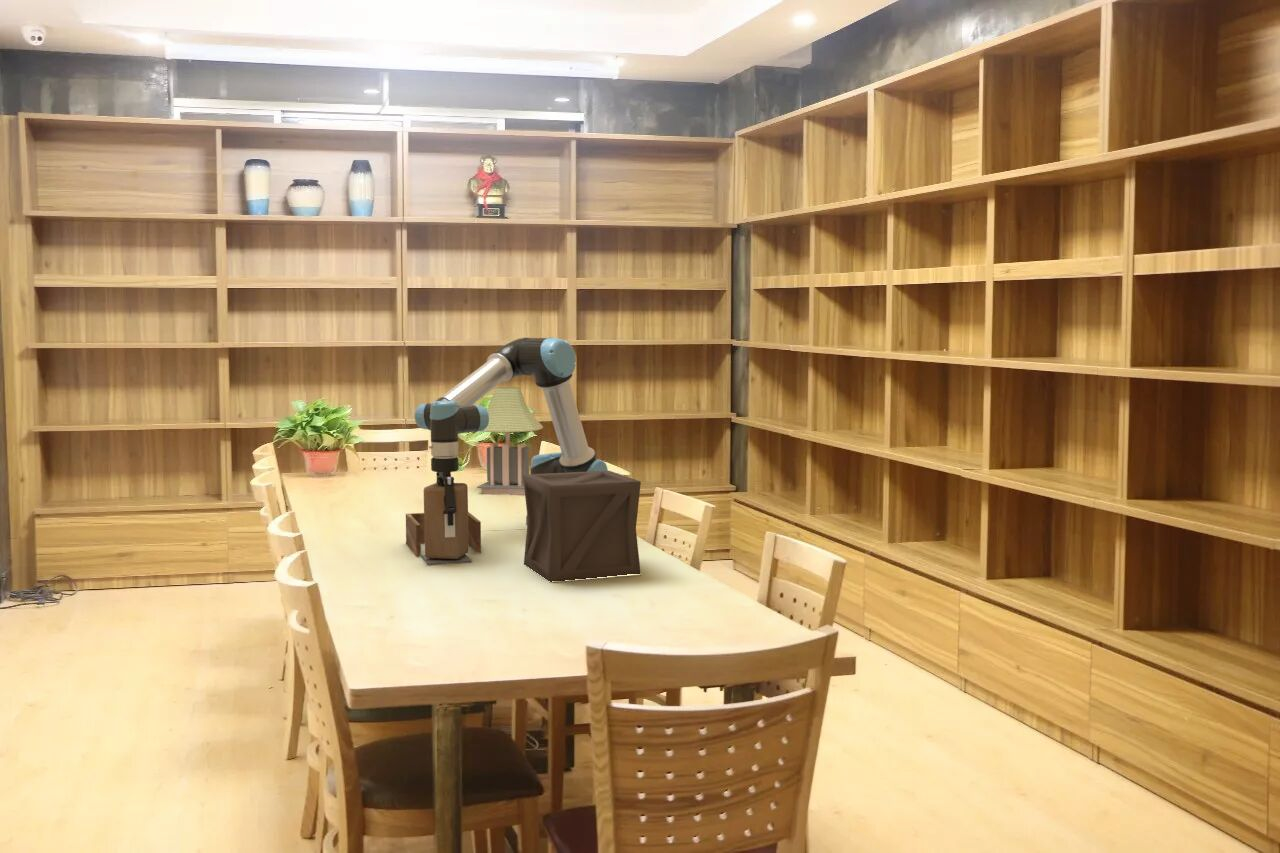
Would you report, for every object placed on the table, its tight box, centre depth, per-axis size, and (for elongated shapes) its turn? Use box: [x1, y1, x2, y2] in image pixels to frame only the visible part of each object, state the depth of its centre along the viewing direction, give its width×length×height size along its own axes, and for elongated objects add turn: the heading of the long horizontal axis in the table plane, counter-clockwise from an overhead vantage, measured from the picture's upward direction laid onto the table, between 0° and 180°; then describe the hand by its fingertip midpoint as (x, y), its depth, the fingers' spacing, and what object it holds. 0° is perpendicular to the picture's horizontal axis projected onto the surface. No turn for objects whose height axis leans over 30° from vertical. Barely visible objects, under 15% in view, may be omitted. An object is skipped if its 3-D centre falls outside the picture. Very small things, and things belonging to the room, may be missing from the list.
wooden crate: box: [523, 470, 642, 583], centre depth 334 cm, size 25×25×25 cm
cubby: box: [405, 511, 482, 558], centre depth 366 cm, size 18×21×9 cm
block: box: [423, 482, 470, 559], centre depth 348 cm, size 10×10×20 cm
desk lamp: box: [476, 386, 544, 496], centre depth 479 cm, size 26×28×40 cm
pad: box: [420, 553, 473, 566], centre depth 349 cm, size 12×12×1 cm
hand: (445, 533), depth 348 cm, fingers closed on block, 13 cm apart
